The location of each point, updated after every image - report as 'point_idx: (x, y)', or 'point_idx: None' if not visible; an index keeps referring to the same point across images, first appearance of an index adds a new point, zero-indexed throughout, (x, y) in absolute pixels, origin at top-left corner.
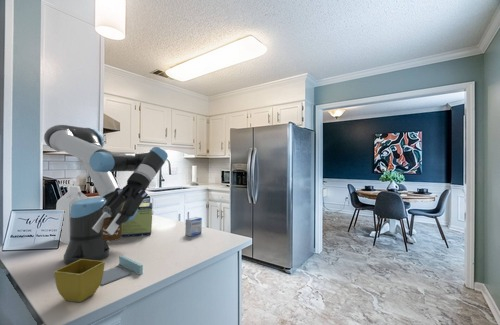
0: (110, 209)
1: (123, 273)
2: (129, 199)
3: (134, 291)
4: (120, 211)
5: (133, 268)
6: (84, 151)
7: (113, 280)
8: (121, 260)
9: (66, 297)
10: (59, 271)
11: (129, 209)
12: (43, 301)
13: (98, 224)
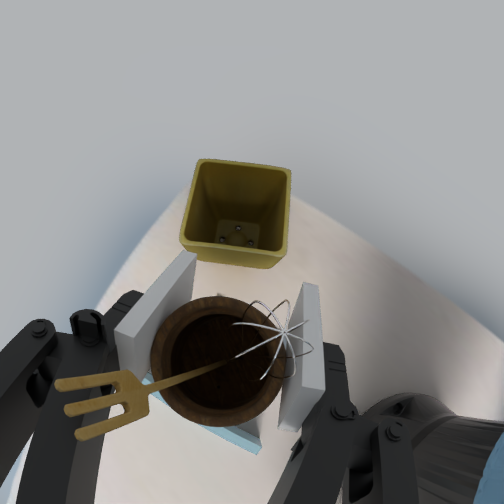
0: (231, 358)
1: None
2: (25, 487)
3: (118, 276)
4: (125, 371)
5: None
6: None
7: None
8: (246, 436)
9: (252, 212)
10: (285, 184)
11: (25, 341)
12: (307, 219)
13: (300, 314)
